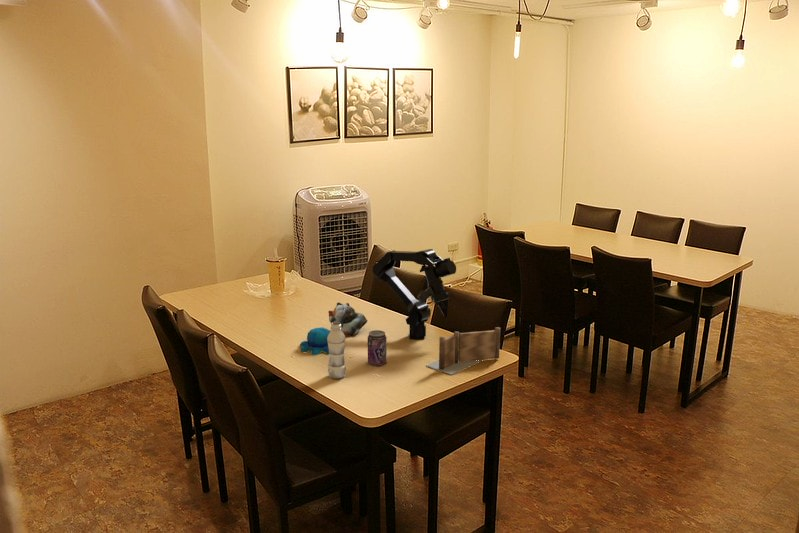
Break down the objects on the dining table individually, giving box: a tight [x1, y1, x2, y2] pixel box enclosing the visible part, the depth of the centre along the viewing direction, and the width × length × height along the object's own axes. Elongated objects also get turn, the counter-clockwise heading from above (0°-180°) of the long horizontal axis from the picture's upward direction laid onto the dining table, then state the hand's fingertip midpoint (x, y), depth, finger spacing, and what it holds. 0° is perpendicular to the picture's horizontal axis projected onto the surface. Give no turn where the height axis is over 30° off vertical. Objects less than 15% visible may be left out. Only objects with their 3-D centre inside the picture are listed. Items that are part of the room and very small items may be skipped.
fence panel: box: [458, 326, 501, 362], centre depth 239 cm, size 16×2×12 cm, turn 104°
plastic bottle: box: [327, 322, 347, 380], centre depth 223 cm, size 6×7×20 cm
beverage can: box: [367, 329, 387, 367], centre depth 237 cm, size 7×7×12 cm
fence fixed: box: [438, 330, 460, 370], centre depth 234 cm, size 10×2×12 cm, turn 136°
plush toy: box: [299, 326, 331, 356], centre depth 253 cm, size 17×17×8 cm
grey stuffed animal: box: [328, 301, 368, 337], centre depth 272 cm, size 15×12×14 cm
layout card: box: [426, 358, 483, 376], centre depth 240 cm, size 12×25×1 cm, turn 137°
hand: (445, 316), depth 255 cm, fingers closed
